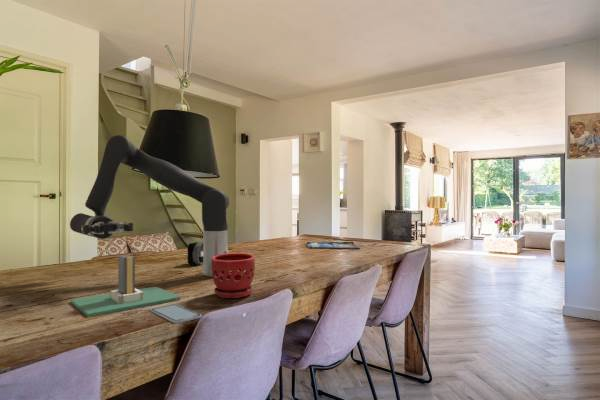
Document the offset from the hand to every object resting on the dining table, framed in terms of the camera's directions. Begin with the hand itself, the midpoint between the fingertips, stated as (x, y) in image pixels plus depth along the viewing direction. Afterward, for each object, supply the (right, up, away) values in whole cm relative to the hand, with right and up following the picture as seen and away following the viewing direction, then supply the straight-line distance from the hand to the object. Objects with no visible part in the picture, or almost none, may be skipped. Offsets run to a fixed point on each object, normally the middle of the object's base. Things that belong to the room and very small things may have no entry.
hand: (114, 228), depth 114 cm
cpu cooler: (+10, -21, +54) cm, 59 cm away
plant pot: (+37, -20, -1) cm, 42 cm away
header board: (+7, -20, -8) cm, 23 cm away
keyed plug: (+7, -19, -8) cm, 22 cm away
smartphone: (+25, -21, -20) cm, 38 cm away
